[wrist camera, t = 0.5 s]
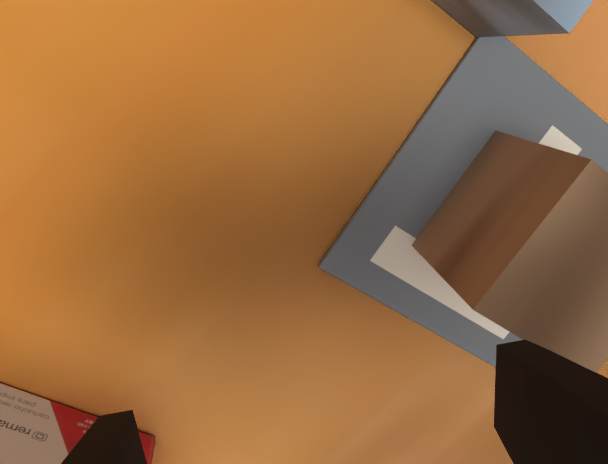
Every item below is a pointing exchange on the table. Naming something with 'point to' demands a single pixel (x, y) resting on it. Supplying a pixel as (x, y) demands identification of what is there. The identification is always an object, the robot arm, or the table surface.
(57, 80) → the table surface
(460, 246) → the walnut block
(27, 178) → the table surface
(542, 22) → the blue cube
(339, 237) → the letter card
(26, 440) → the ink box
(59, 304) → the table surface
